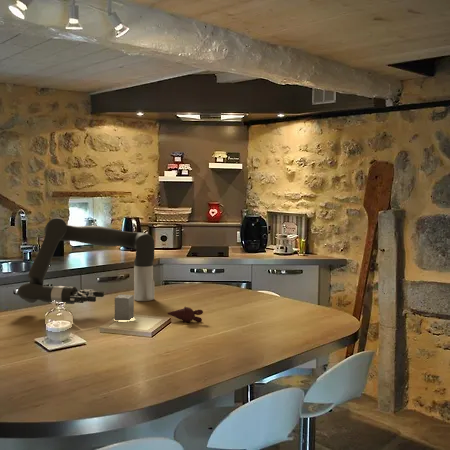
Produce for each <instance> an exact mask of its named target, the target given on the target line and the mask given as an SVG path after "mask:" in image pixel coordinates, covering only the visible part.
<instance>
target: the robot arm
mask: <svg viewBox="0 0 450 450" xmlns="http://www.w3.org/2000/svg"><path fill="white" fill-rule="evenodd" d="M43 231H44V234H45V235H44V239H43V242H42V243H41V246H40V248H39V250H38V253H37V254H36V256H35V259H34V260H33V262H32V264H31V267H30V269H29V271H28V275H27V276H28V279H29V282H28V283H27V282H26V283H23V284H21V285H20V286H19V287H18V290H17V295H18V296H19V297H20V298H21V299H22V300H24V301H26V302H28V303H30V304H33V303H36V302H37V301H40V302H45V303H53V302H52V301H54V300H55V301H57V302H66V303H65V304H66V305H74V304H77V303H78V304H79V303H80V304H83V303H87V302H89V303H90V302H92V303H95V302H96V301H97V298H103V297H104V296H105V293H104V291H97V289H88V288H87V289H85V288H84V289H83V290H82V289H79V291H78V289H77V287H76V286H71V285H70V286H66V285H65V286H64V285H55V286H54V285H44V280H45V277H46V275H47V272H48V271H49V267H50V265H51V263H52V259H53V257H54V254H55V251H56V249H57V247H58V245H59V243H60V241H64V242H65V241H66V242H77V243H82V244H87V245H93V246H94V245H95V246H100V247H126V248H131V249H133V250H135V259H133V260H134V261H133V268H134V269H133V271H134V272H133V277H134V278H133V293H134V294H133V295H134V301H138V302H149V301H152V300H155V280H154V261H155V249H156V248H155V240H154V237H153V235H151V234H148V233H146V232H137V231H135V232H133V231H125V230H124V231H123V230H120V229H117V228H111V227H106V226H100V225H84V226H83V225H82V226H81V225H79V226H78V225H77V226H75V225H69V224H67V222H66V221H65V220H64V219H63V218H60V217H54V218H51V219H49V221H47V223H46V225H45V227H44V230H43Z"/></svg>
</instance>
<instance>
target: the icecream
mask: <svg viewBox="0 0 450 450" xmlns="http://www.w3.org/2000/svg"><path fill="white" fill-rule="evenodd" d="M167 314H168V315H169V316H172V317H174V318H176V319H179V320H180V321H182V322H183V323H190V322H192V321H194V322H197V323H201V322H202V321H203V318H202V317H200V315H203V314H204V311H203V310H202V309H195V310H193V308H191V307H189V306H184V308H180V309H176V310H172V311H168V312H167ZM196 315H197V316H196Z"/></svg>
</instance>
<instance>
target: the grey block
mask: <svg viewBox="0 0 450 450" xmlns="http://www.w3.org/2000/svg"><path fill="white" fill-rule="evenodd" d="M134 302H135V300H134V294H122V293H120V294H117V295H116V296H115V297H114V318H115V320H130V319H131V318H133V317H135V313H134V312H135V310H134V309H135V307H134V306H135V303H134Z"/></svg>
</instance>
